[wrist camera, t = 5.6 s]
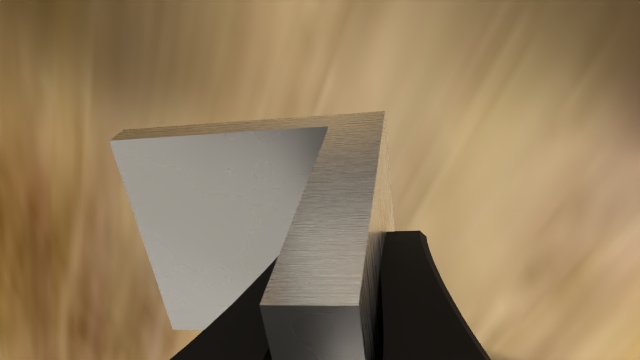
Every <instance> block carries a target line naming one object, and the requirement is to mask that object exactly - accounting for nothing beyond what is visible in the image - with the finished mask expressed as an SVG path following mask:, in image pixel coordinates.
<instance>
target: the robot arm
mask: <svg viewBox="0 0 640 360" xmlns="http://www.w3.org/2000/svg"><path fill="white" fill-rule="evenodd" d="M277 259H278V257H277V258H276V259H275V260H274V261H273V262H272V263H271V264H270V265H269V266H268V267H267V269H266V270H265V271H264V272H263V273H262V274H261V275H260V276H259V277H258V278H257V279H256V280H255V281H254V282H253V283H252V284H251V285H250V286H249V287H248V288H247V289H246V290H245V291H244V292H243V293H242V294H241V295H240V296H239V297H238V298H237V299H236V301H235V302H234V303H233V304H232V305H230V306H229V307H228V308H227V309H226V310H225V311H224V312H223V313H222V314H221V315H220V316H219V317H218V318H216V319H215V320H214V321H213V322H212V323H211V324H210V325H209V326H208V327H207V328H206V329H205V330H203V331H202V332H201V333H200V334H199V335H198V336H197V337H196V338H195V339H194V340H193V341H191V342H190V343H189V344H188V345H187V346H186V347H184V348H183V349H182V350H181V351H180V352H178V353H177V354H176V355H175V356H173V357H172V358H171V359H170V360H272V357H271V353H270V348H269V344H268V340H267V336H266V331H265V327H264V323H263V318H262V314H261V310H260V306H259V305H260V302H261V300H262V297H263V295H264V292H265V290H266V287H267V284H268V282H269V279H270V277H271V274H272V272H273V269H274V266H275V264H276V261H277ZM380 267H381V288H382V308H383V329H384V346H383V360H491V359H490V358H489V356H488V355H487V353H486V352H485V350H484V349H483V347H482V346H481V344H480V343H479V341H478V340H477V338H476V337H475V335H474V334H473V332H472V331H471V329H470V328H469V326H468V325H467V323H466V321H465V320H464V318H463V317H462V315H461V313H460V311H459V310H458V308H457V306H456V304H455V303H454V301H453V299H452V297H451V295H450V294H449V292H448V290H447V288H446V286H445V284H444V283H443V281H442V279H441V277H440V274H439V272H438V270H437V268H436V266H435V263H434V261H433V258H432V256H431V253H430V250H429V247H428V243H427V238H426V236H425V235H424V234H423V233H422V232H421V231H390V232H386V235H385V240H384V245H383V251H382V257H381V264H380Z"/></svg>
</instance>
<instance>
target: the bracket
mask: <svg viewBox="0 0 640 360" xmlns="http://www.w3.org/2000/svg"><path fill="white" fill-rule="evenodd" d="M109 142H110V145H111V148H112V151H113V154H114V157H115V160H116V163H117V166H118V168H119V171H120V174H121V177H122V180H123V183H124V186H125V189H126V192H127V195H128V198H129V201H130V204H131V207H132V210H133V213H134V216H135V219H136V222H137V225H138V228H139V231H140V234H141V237H142V240H143V243H144V245H145V248H146V251H147V254H148V257H149V260H150V263H151V266H152V269H153V272H154V275H155V278H156V281H157V284H158V287H159V290H160V293H161V296H162V299H163V302H164V305H165V308H166V311H167V314H168V317H169V319H170V322H171V325H172V328H173V330H205V329H206V328H207V327H208V326H209V325H210V324H211V323H212V322H213V321H214V320H215V319H216V318H218V317H219V316H220V315H221V314H222V313H223V312H224V311H225V310H226V309H227V308H228V307H229V306H230V305H232V304H233V303H234V302H235V301H236V299H237V298H238V297H239V296H240V295H241V294H242V293H243V292H244V291H245V290H246V289H247V288H248V287H249V286H250V285H251V284H252V283H253V282H254V281H255V280H256V279H257V278H258V277H259V276H260V275H261V274H262V273H263V272H264V271H265V270H266V269H267V267H268V266H269V265H270V264H271V263H272V262H273V261H274V260H275V259H276V258H277V257H278V259H277V261H276V264H275V266H274V269H273V272H272V274H271V277H270V279H269V282H268V284H267V287H266V290H265V292H264V295H263V297H262V300H261V302H260V305H259V306H260V310H261V314H262V318H263V323H264V327H265V331H266V336H267V340H268V344H269V348H270V353H271V357H272V360H383V346H384V329H383V308H382V288H381V267H380V264H381V257H382V251H383V245H384V240H385V235H386V232H390V231H394V219H393V206H392V194H391V181H390V168H389V155H388V143H387V130H386V117H385V111H381V112H367V113H353V114H339V115H325V116H311V117H297V118H283V119H268V120H254V121H240V122H226V123H212V124H198V125H184V126H169V127H155V128H141V129H127V130H123V131H121V132H120V133H119V134H118V135H116V136H115V137H114V138H112V139H111V140H110V141H109Z"/></svg>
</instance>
